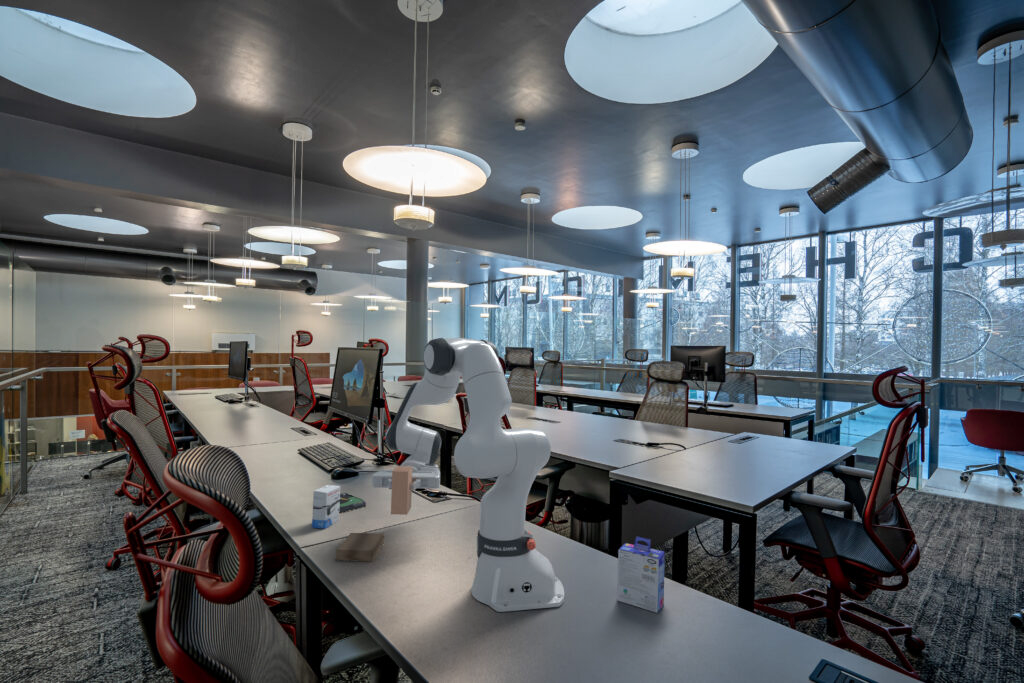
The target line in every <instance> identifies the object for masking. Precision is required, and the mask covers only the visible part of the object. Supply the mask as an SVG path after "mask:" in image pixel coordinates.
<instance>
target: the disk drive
mask: <svg viewBox="0 0 1024 683" xmlns="http://www.w3.org/2000/svg"><path fill="white" fill-rule="evenodd" d="M366 504H367V502H366V501H365V500H364V499H362V498H360V497H357V496H354V495H352V494H350V493H347V492H343V493H340V507H339V512H340V513H339V514H343V513H347V512H350V511H349V510H351V511H354V510H353V509H355V510H358V508H359V509H362V507H363V508H366V506H367V505H366ZM346 511H347V512H346ZM342 512H343V513H342Z"/></svg>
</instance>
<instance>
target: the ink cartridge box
mask: <svg viewBox="0 0 1024 683" xmlns="http://www.w3.org/2000/svg"><path fill="white" fill-rule="evenodd" d="M651 541H652V539H649V538H645V537H641V536H636V537H635V541H634V544H632V543H624V544H622V546H621V547H620V548H619V549H618V550H617V554H618V555H617V556H618V557H617V587H616V589H617V592H616V594H617V595H616V601H618V602H621V603H625V604H628V605H630V606H634V607H637V608H641V609H643V610H646V611H651V612H653V613H659V611H660V610H661V609H662V607H663V606H664V605H665V556H666V555H665V551H662V550H659V549H654V548H651V544H652V542H651ZM638 542H645V544H647V545H645V544H641V543H638Z"/></svg>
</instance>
